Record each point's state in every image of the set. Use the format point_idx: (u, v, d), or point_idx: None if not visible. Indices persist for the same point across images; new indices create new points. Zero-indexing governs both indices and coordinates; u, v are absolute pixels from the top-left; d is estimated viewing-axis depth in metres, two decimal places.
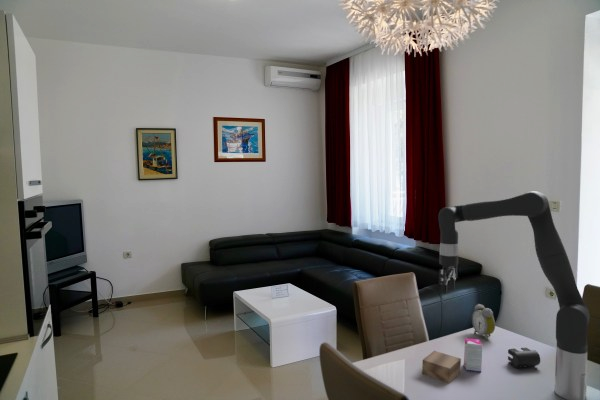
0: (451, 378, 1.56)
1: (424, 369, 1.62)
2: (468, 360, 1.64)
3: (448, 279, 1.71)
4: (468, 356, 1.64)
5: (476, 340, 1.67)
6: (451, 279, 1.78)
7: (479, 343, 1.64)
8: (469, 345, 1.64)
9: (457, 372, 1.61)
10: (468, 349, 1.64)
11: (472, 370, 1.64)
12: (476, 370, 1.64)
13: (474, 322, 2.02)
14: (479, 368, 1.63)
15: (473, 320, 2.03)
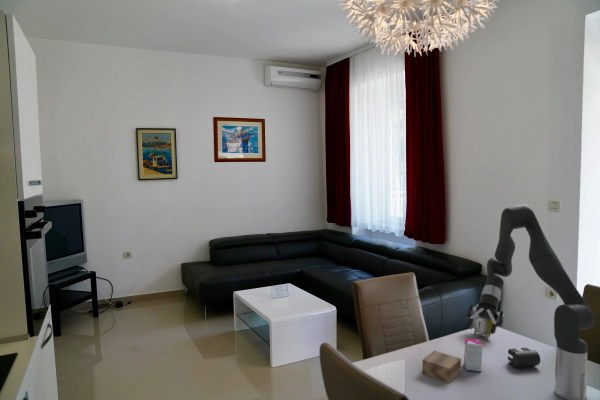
0: (451, 378, 1.56)
1: (424, 369, 1.62)
2: (468, 360, 1.64)
3: (474, 314, 1.77)
4: (468, 356, 1.64)
5: (476, 340, 1.67)
6: None
7: (479, 343, 1.64)
8: (469, 345, 1.64)
9: (457, 372, 1.61)
10: (468, 349, 1.64)
11: (472, 370, 1.64)
12: (476, 370, 1.64)
13: (474, 322, 2.02)
14: (479, 368, 1.63)
15: None
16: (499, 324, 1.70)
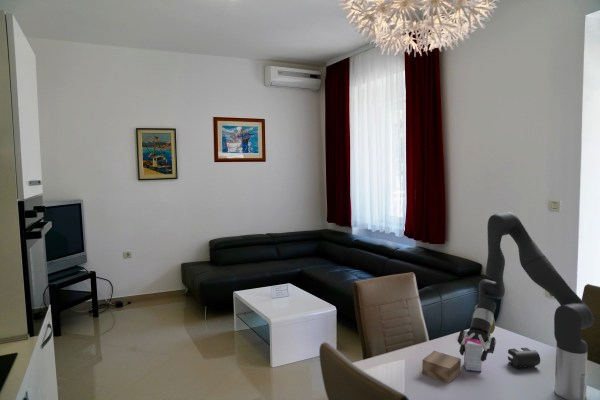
0: (451, 378, 1.56)
1: (424, 369, 1.62)
2: (468, 360, 1.64)
3: None
4: (468, 356, 1.64)
5: (476, 340, 1.67)
6: None
7: (479, 343, 1.64)
8: (469, 345, 1.64)
9: (457, 372, 1.61)
10: (468, 349, 1.64)
11: (472, 370, 1.64)
12: (476, 370, 1.64)
13: None
14: (479, 368, 1.63)
15: None
16: (490, 351, 1.63)
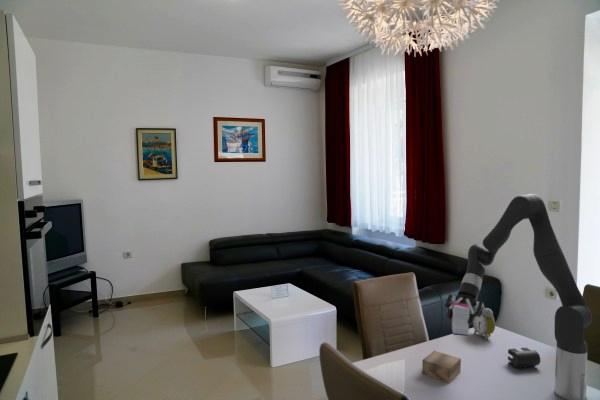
0: (451, 378, 1.56)
1: (424, 369, 1.62)
2: (455, 323, 1.62)
3: None
4: (455, 319, 1.62)
5: (464, 304, 1.65)
6: None
7: (466, 306, 1.62)
8: (456, 308, 1.62)
9: (457, 372, 1.61)
10: (455, 312, 1.62)
11: (459, 334, 1.62)
12: (463, 334, 1.62)
13: (474, 322, 2.02)
14: (466, 331, 1.61)
15: None
16: (477, 314, 1.61)
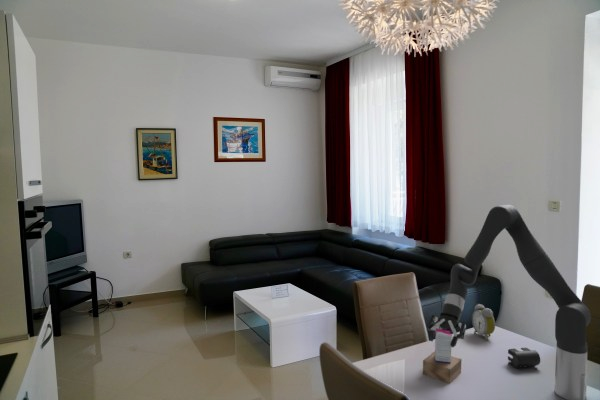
0: (451, 378, 1.56)
1: (424, 370, 1.62)
2: (437, 351, 1.60)
3: (435, 325, 1.65)
4: (437, 346, 1.60)
5: (447, 330, 1.63)
6: None
7: (449, 333, 1.60)
8: (438, 335, 1.59)
9: (458, 373, 1.61)
10: (437, 339, 1.60)
11: (441, 361, 1.60)
12: (445, 361, 1.59)
13: (474, 322, 2.02)
14: (448, 359, 1.59)
15: (473, 320, 2.03)
16: (460, 336, 1.58)
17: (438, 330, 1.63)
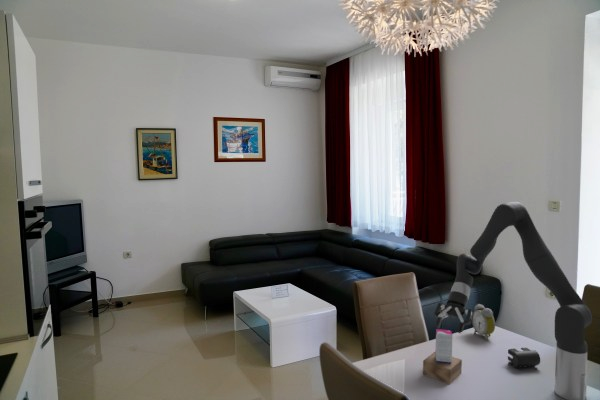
0: (451, 379, 1.56)
1: (425, 370, 1.61)
2: (438, 351, 1.59)
3: (442, 312, 1.71)
4: (438, 346, 1.59)
5: (447, 331, 1.62)
6: None
7: (449, 333, 1.59)
8: (439, 335, 1.59)
9: (458, 373, 1.60)
10: (438, 339, 1.59)
11: (442, 361, 1.59)
12: (446, 361, 1.59)
13: (474, 322, 2.02)
14: (449, 359, 1.58)
15: (473, 320, 2.03)
16: (467, 322, 1.64)
17: (439, 330, 1.63)
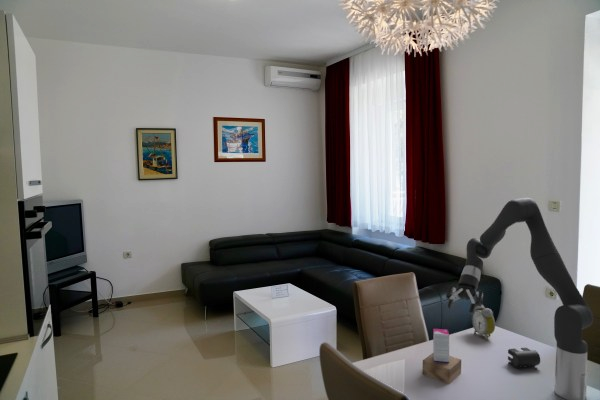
0: (451, 379, 1.56)
1: (424, 370, 1.62)
2: (435, 351, 1.60)
3: (454, 294, 1.75)
4: (435, 346, 1.60)
5: (444, 330, 1.62)
6: None
7: (446, 333, 1.60)
8: (436, 335, 1.59)
9: (457, 373, 1.60)
10: (435, 339, 1.60)
11: (440, 361, 1.60)
12: (444, 361, 1.59)
13: (474, 322, 2.02)
14: (447, 359, 1.59)
15: (473, 320, 2.03)
16: (478, 303, 1.68)
17: (435, 330, 1.63)
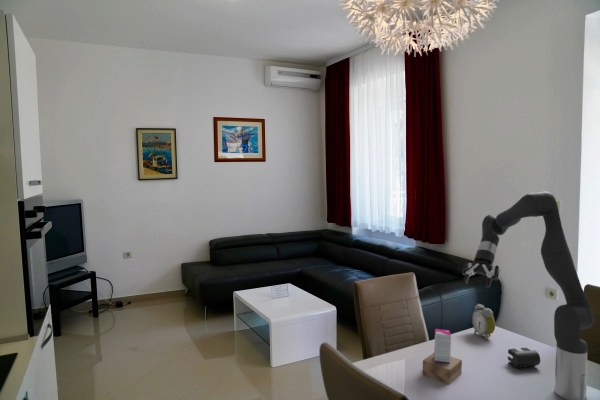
0: (451, 379, 1.56)
1: (424, 370, 1.61)
2: (436, 351, 1.60)
3: (470, 269, 1.76)
4: (436, 347, 1.60)
5: (446, 331, 1.62)
6: None
7: (448, 333, 1.59)
8: (437, 335, 1.59)
9: (458, 374, 1.60)
10: (436, 339, 1.59)
11: (441, 361, 1.59)
12: (445, 361, 1.59)
13: (474, 322, 2.02)
14: (448, 359, 1.59)
15: (473, 320, 2.03)
16: (494, 278, 1.69)
17: (437, 330, 1.63)
